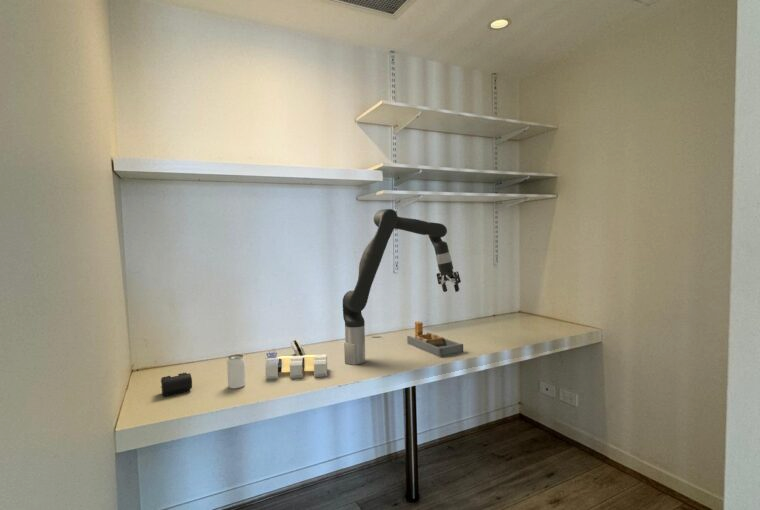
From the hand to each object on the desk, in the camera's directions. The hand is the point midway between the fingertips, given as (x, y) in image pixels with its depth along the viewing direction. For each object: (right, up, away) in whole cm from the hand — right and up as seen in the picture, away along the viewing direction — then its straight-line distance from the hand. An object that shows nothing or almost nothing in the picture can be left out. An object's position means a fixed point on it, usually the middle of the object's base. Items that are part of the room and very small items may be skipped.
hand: (451, 291), depth 206 cm
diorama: (-73, -33, -37) cm, 88 cm away
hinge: (-77, -32, -14) cm, 84 cm away
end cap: (-116, -34, -55) cm, 133 cm away
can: (-95, -33, -50) cm, 112 cm away
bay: (-9, -29, -2) cm, 31 cm away
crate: (-13, -28, +4) cm, 31 cm away
